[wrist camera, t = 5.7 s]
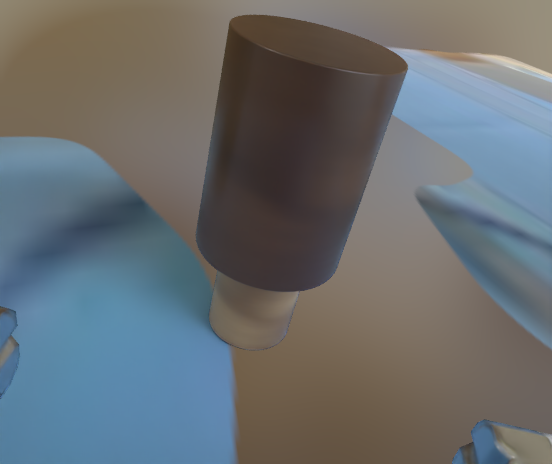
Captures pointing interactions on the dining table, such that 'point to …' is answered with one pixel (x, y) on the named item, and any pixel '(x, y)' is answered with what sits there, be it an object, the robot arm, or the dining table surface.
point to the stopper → (287, 165)
